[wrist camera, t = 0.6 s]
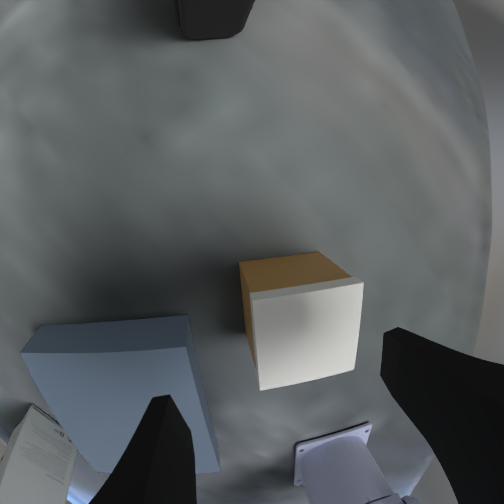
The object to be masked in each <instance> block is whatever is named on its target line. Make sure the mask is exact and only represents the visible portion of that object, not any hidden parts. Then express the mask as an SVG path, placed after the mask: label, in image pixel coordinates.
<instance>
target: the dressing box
mask: <svg viewBox="0 0 504 504" xmlns="http://www.w3.org/2000/svg"><path fill="white" fill-rule="evenodd" d="M20 354H21V356H22V358H23V360H24V362H25V364H26V366H27V368H28V370H29V372H30V374H31V376H32V378H33V380H34V382H35V384H36V386H37V387H38V389H39V391H40V393H41V395H42V396H43V398H44V400H45V401H46V403H47V405H48V406H49V408H50V410H51V411H52V413H53V415H54V416H55V418H56V419H57V421H58V422H59V424H60V425H61V427H62V428H63V430H64V431H65V433H66V434H67V436H68V437H69V438H70V440H71V441H72V443H73V444H74V445H75V447H76V448H77V449H78V451H79V452H80V453H81V455H82V456H83V457H84V459H85V460H86V461H87V462H88V464H89V465H90V466H91V467H92V468H93V470H94V471H95V472H104V473H112V471H113V470H114V468H115V466H116V465H117V463H118V461H119V460H120V458H121V456H122V455H123V453H124V451H125V449H126V448H127V446H128V444H129V442H130V440H131V438H132V436H133V434H134V433H135V431H136V429H137V427H138V425H139V423H140V421H141V419H142V417H143V415H144V413H145V411H146V409H147V407H148V405H149V403H150V401H151V399H152V397H156V396H163V395H169V394H170V395H171V397H172V399H173V400H174V402H175V404H176V406H177V408H178V409H179V411H180V413H181V415H182V416H183V418H184V420H185V422H186V423H187V425H188V427H189V428H190V430H191V433H192V440H193V446H194V454H195V472H196V474H205V473H216V472H221V469H220V461H219V453H218V445H217V439H216V435H215V431H214V428H213V424H212V420H211V416H210V412H209V409H208V405H207V401H206V397H205V392H204V388H203V384H202V380H201V375H200V371H199V367H198V362H197V358H196V353H195V348H194V343H193V339H192V334H191V329H190V323H189V318H188V314H187V315H178V316H168V317H158V318H148V319H136V320H124V321H111V322H96V323H80V324H60V325H41V327H40V328H39V329H38V330H37V331H36V333H35V334H34V335H33V336H32V338H31V339H30V340H29V341H28V343H27V344H26V345H25V347H24V348H23V349H22V350H21V352H20Z"/></svg>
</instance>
